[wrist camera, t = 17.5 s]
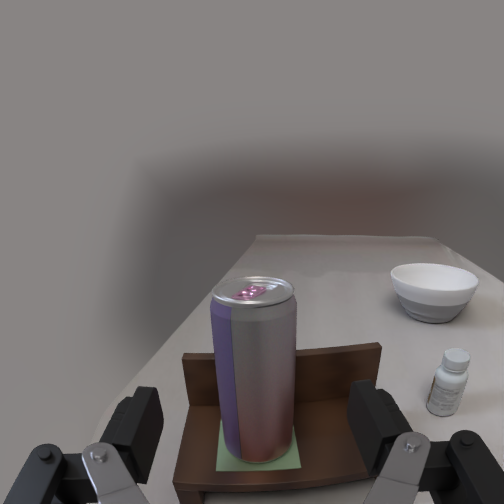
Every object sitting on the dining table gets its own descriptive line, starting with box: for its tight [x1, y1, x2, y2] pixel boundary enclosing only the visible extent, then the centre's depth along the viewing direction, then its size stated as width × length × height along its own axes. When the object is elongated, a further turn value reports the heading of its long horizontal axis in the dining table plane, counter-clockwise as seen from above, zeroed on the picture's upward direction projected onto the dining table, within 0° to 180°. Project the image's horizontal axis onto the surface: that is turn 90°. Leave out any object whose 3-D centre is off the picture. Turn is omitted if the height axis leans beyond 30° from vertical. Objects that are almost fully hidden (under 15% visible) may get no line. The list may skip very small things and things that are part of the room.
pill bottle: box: [427, 348, 470, 416], centre depth 30 cm, size 4×4×8 cm
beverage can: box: [210, 276, 297, 463], centre depth 24 cm, size 6×6×15 cm
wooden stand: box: [172, 342, 382, 504], centre depth 26 cm, size 20×12×10 cm, turn 91°
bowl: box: [391, 263, 479, 323], centre depth 58 cm, size 20×19×8 cm
